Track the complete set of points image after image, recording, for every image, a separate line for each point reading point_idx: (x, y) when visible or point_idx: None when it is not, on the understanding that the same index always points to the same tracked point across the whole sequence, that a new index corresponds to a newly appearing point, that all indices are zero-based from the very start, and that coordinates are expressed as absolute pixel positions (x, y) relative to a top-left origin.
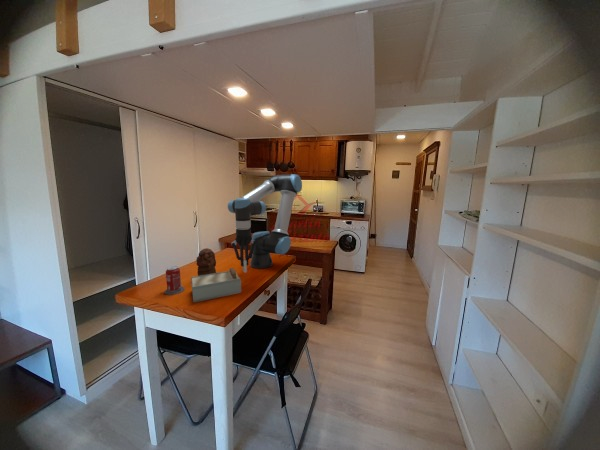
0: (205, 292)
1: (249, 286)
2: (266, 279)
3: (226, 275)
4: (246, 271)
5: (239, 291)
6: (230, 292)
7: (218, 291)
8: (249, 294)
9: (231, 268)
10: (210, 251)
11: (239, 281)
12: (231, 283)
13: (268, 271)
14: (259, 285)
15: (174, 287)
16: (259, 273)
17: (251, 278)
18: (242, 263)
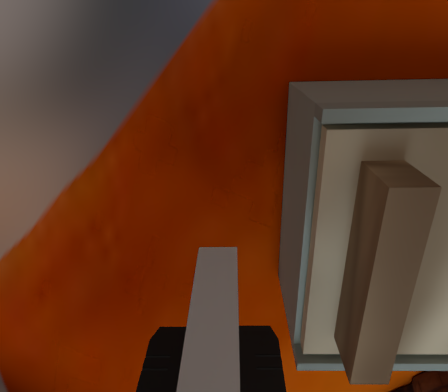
0: None
1: (191, 171)
2: (30, 237)
3: (428, 286)
4: (202, 253)
5: (308, 82)
6: (397, 82)
7: None
8: (228, 4)
9: (370, 373)
10: None
11: (331, 100)
12: (431, 99)
13: (3, 354)
14: (104, 153)
15: None
16: (74, 349)
17: (147, 298)
18: (258, 371)
